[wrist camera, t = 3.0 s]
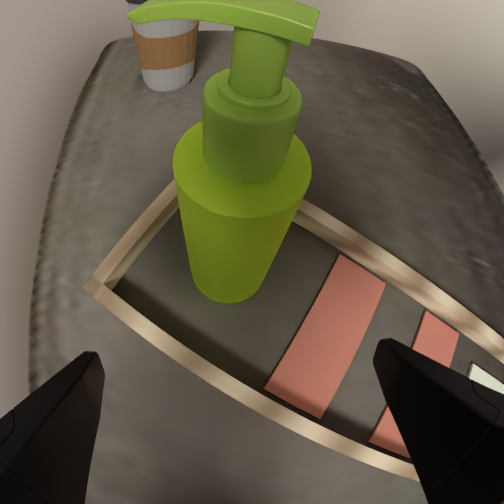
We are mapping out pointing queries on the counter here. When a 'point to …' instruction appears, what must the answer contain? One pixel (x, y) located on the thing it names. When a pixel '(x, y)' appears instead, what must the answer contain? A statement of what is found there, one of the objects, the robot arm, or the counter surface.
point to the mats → (347, 347)
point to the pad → (484, 378)
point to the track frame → (102, 291)
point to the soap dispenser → (241, 144)
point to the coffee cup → (165, 51)
